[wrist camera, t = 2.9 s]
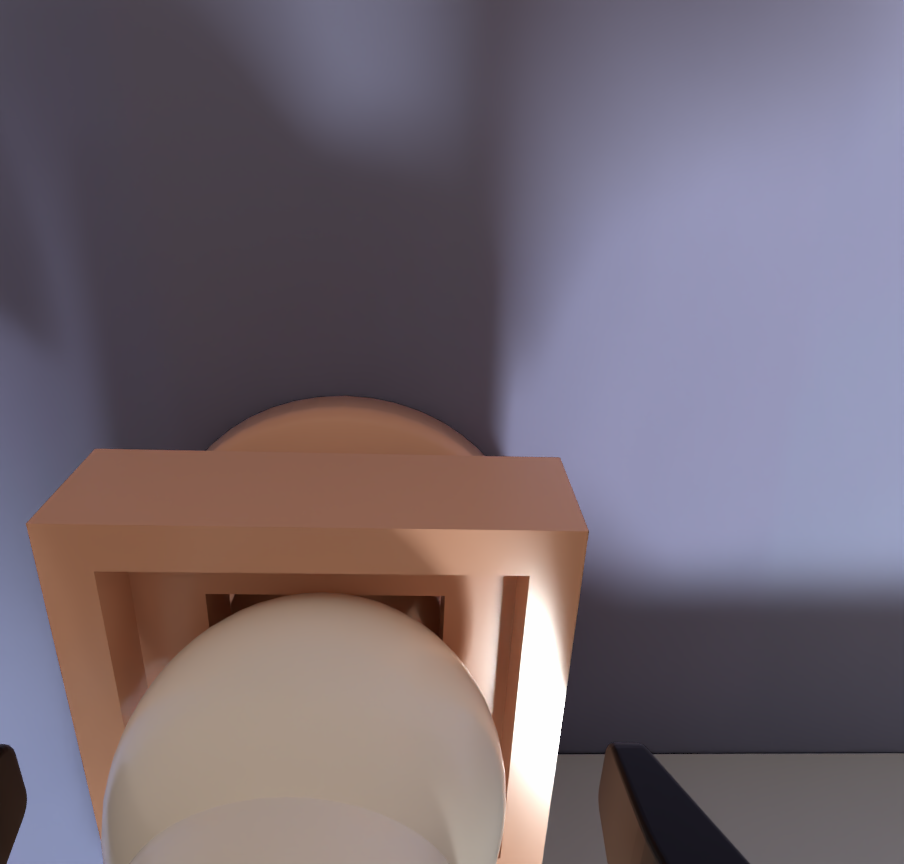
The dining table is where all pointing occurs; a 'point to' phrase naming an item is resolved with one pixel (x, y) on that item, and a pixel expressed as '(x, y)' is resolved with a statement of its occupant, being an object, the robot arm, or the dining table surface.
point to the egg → (309, 746)
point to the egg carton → (754, 806)
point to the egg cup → (321, 565)
